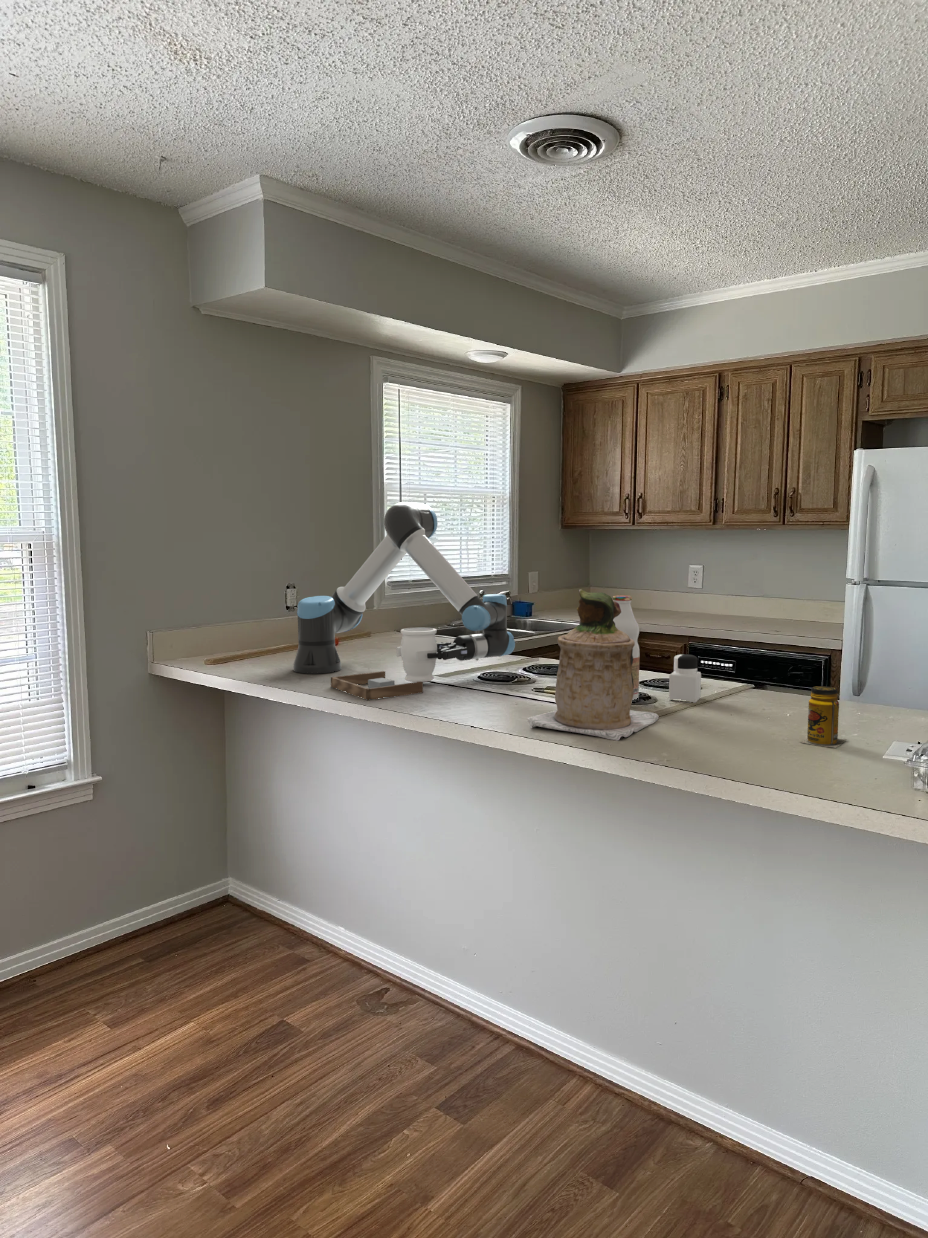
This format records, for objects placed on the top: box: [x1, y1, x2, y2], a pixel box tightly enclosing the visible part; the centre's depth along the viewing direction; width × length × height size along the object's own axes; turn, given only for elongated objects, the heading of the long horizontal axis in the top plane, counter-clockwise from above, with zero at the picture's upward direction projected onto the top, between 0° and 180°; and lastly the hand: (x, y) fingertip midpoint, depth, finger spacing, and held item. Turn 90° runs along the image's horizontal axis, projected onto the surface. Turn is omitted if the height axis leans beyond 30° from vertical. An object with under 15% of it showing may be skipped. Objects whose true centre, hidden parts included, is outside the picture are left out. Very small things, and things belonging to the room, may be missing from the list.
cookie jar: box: [526, 588, 660, 741], centre depth 200 cm, size 25×25×32 cm
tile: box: [367, 677, 396, 688], centre depth 243 cm, size 6×5×3 cm
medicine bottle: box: [668, 653, 702, 704], centre depth 228 cm, size 7×7×12 cm
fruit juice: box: [612, 594, 640, 700], centre depth 226 cm, size 9×9×28 cm
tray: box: [330, 670, 424, 701], centre depth 243 cm, size 22×18×3 cm
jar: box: [400, 626, 438, 683], centre depth 250 cm, size 11×10×15 cm
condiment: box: [800, 685, 849, 749], centre depth 184 cm, size 7×8×12 cm
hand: (406, 654), depth 248 cm, fingers closed on jar, 10 cm apart
